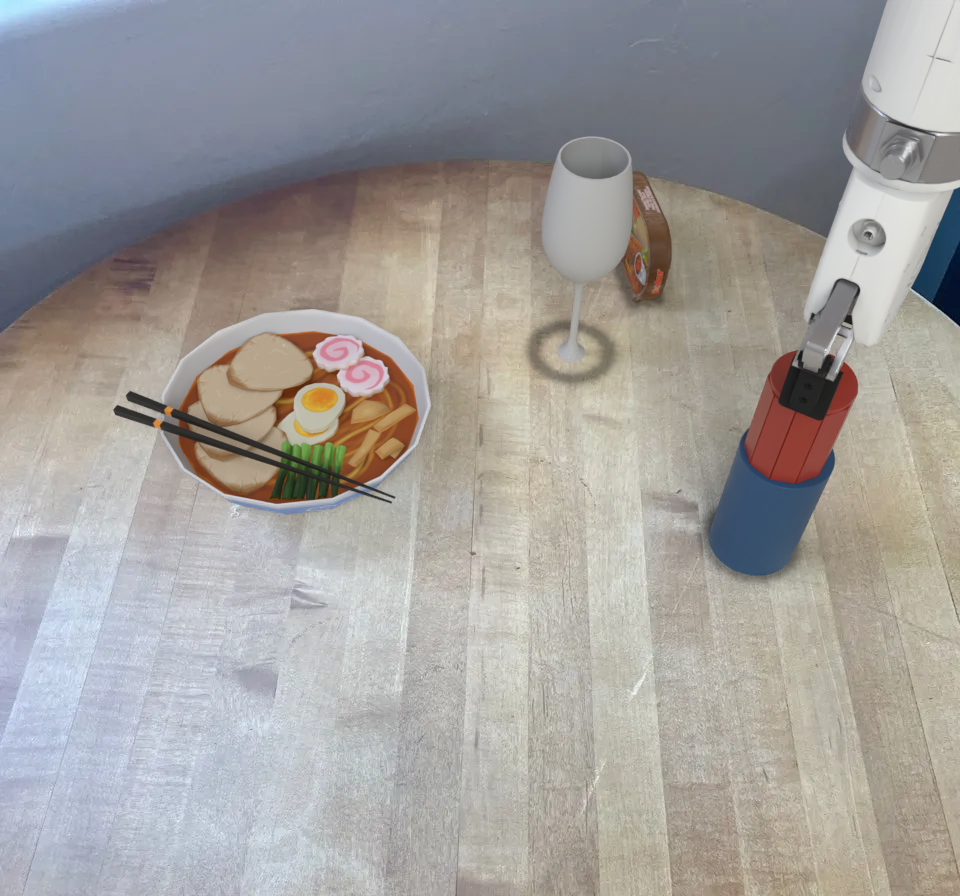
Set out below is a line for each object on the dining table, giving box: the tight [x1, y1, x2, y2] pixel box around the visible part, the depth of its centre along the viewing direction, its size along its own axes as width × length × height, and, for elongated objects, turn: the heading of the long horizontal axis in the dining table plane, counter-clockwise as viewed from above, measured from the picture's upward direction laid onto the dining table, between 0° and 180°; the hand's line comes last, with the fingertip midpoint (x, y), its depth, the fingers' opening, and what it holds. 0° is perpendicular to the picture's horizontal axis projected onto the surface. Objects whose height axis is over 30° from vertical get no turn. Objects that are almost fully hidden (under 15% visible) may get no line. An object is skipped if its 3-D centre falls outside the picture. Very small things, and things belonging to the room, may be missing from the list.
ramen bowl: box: [112, 308, 432, 515], centre depth 86 cm, size 25×23×8 cm
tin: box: [620, 170, 673, 302], centre depth 101 cm, size 15×3×8 cm, turn 10°
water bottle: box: [708, 426, 836, 577], centre depth 78 cm, size 7×7×18 cm
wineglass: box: [540, 136, 633, 363], centre depth 88 cm, size 8×8×21 cm
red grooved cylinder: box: [744, 349, 859, 484], centre depth 72 cm, size 6×6×7 cm
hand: (828, 365), depth 68 cm, fingers open, 9 cm apart
